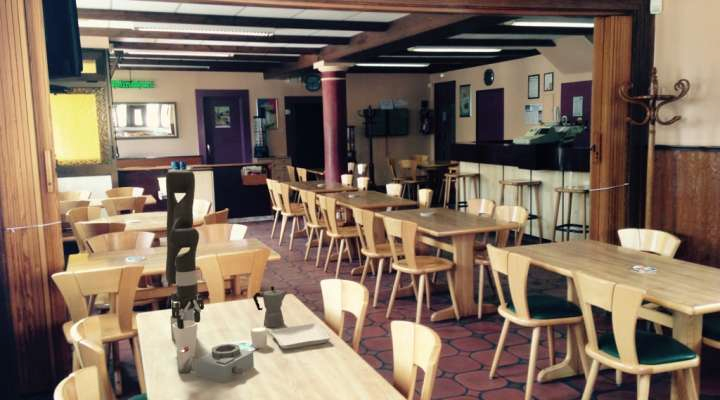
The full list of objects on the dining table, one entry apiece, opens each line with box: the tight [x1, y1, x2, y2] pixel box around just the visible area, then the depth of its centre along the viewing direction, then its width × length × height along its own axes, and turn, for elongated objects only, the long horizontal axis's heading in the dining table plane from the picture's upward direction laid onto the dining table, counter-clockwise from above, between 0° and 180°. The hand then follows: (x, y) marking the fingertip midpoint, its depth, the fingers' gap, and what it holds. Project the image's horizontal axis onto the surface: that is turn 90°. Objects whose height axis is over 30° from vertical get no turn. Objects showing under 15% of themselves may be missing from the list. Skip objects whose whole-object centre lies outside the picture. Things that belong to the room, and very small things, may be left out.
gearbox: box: [194, 343, 255, 384], centre depth 231 cm, size 17×16×8 cm
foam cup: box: [173, 320, 198, 358], centre depth 248 cm, size 10×9×13 cm
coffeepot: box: [252, 285, 288, 329], centre depth 285 cm, size 15×9×18 cm, turn 103°
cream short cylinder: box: [250, 326, 268, 349], centre depth 259 cm, size 7×7×7 cm
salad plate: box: [269, 323, 331, 350], centre depth 264 cm, size 21×21×3 cm
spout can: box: [176, 347, 193, 375], centre depth 233 cm, size 5×5×9 cm
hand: (189, 325), depth 232 cm, fingers open, 8 cm apart
